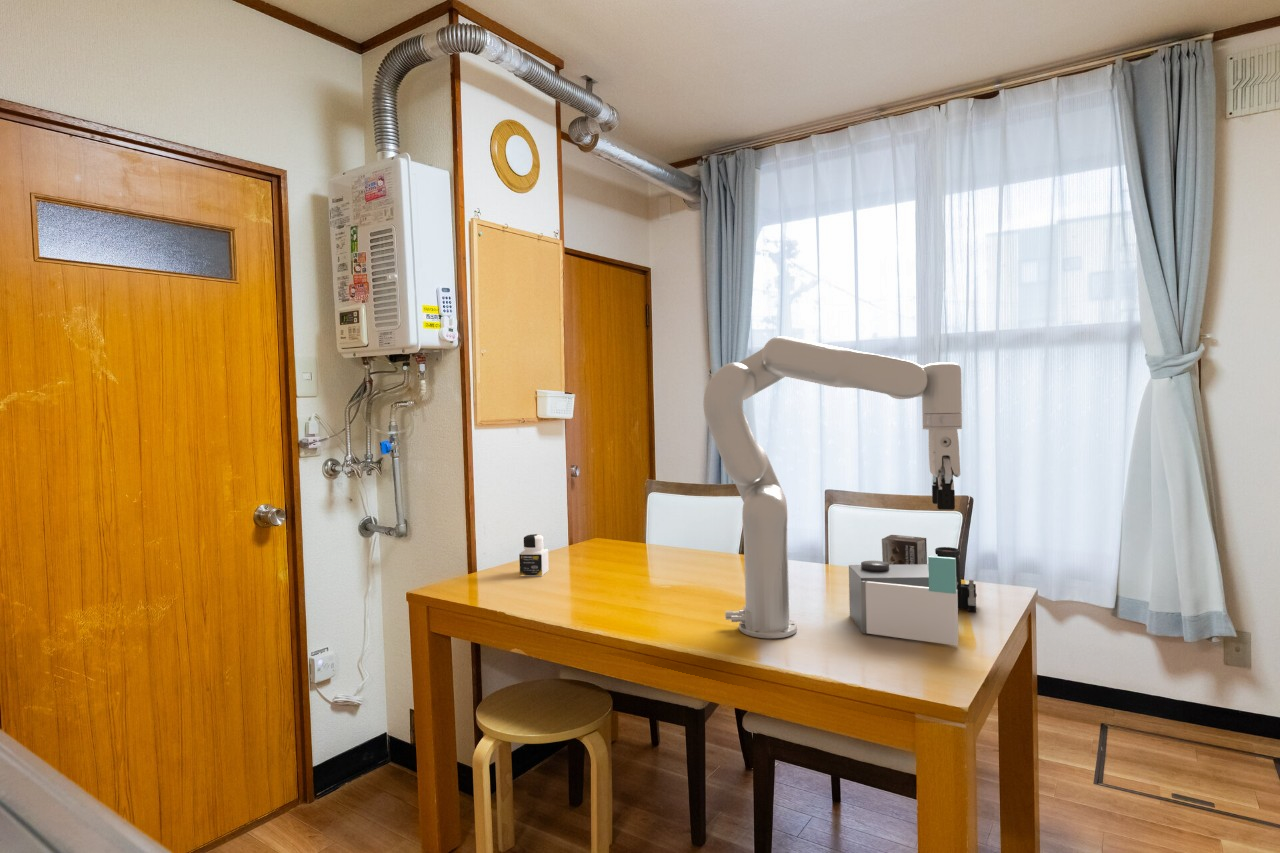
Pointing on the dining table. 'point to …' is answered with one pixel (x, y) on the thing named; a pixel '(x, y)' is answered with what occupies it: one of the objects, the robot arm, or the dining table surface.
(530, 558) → the medicine bottle
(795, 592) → the dining table surface
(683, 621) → the dining table surface
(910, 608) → the side door
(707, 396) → the robot arm
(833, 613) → the dining table surface
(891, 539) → the coffee box
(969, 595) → the scope
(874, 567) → the plain gray box
